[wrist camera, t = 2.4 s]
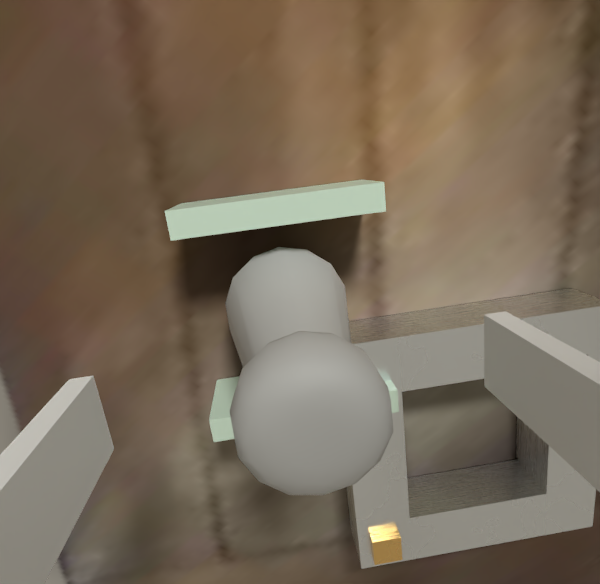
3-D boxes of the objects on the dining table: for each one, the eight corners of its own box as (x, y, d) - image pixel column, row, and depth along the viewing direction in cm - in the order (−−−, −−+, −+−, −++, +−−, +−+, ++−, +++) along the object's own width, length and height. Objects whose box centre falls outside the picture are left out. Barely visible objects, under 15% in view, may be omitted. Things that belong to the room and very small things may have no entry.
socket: (327, 324, 23) (339, 350, 20) (570, 288, 24) (621, 307, 21) (350, 527, 27) (363, 576, 24) (558, 489, 28) (598, 533, 25)
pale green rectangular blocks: (181, 203, 21) (164, 211, 17) (361, 179, 21) (384, 182, 18) (220, 398, 24) (213, 442, 20) (377, 374, 25) (399, 411, 21)
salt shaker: (285, 363, 24) (314, 575, 11) (206, 296, 22) (141, 457, 10) (360, 289, 23) (479, 431, 11) (283, 215, 22) (318, 278, 9)
